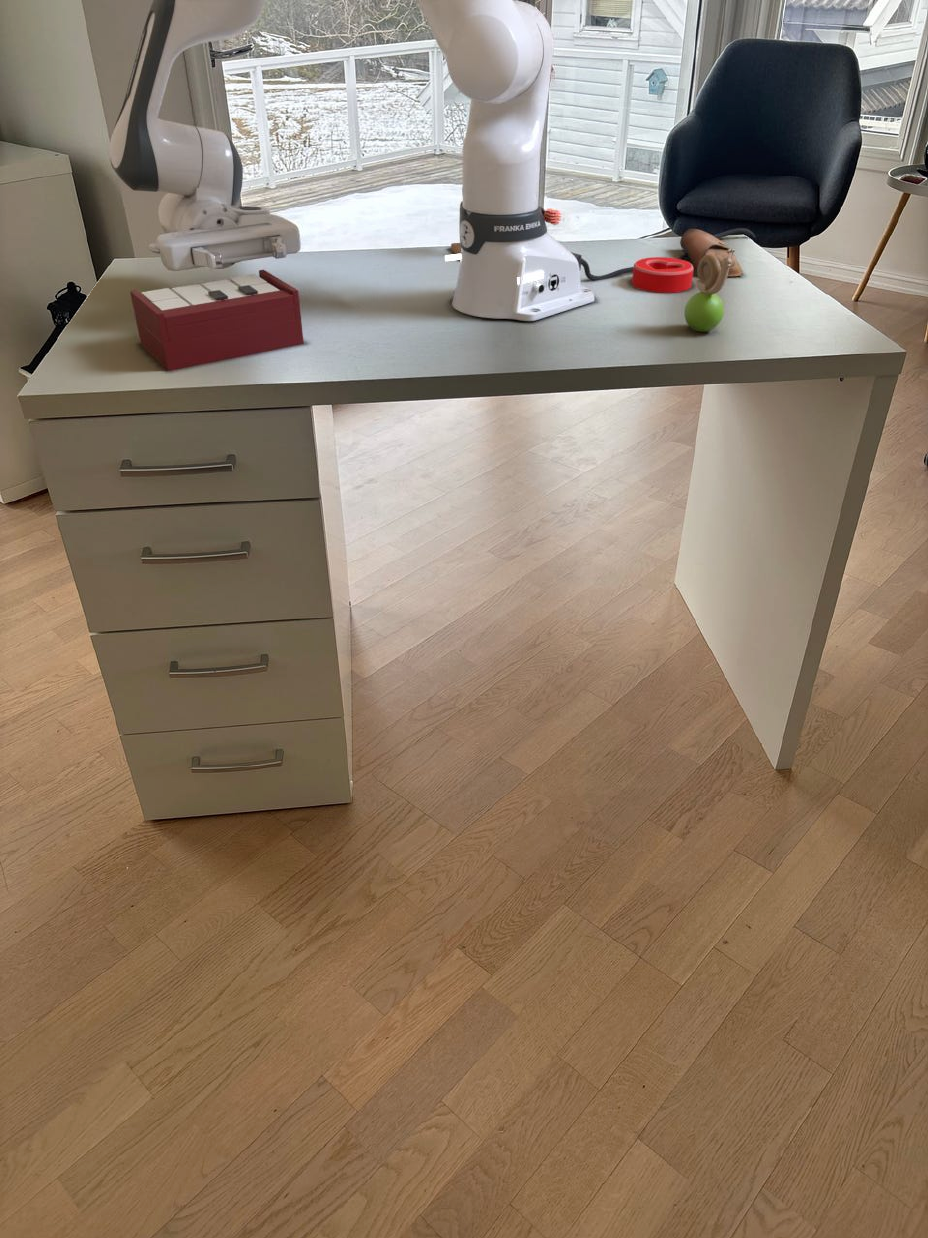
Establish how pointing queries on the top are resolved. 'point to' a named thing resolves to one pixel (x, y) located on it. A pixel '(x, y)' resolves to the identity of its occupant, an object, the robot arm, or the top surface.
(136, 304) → the toy piano
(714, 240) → the sunglasses case
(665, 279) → the decorative ornament
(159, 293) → the f key
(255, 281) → the c key
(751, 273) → the top surface
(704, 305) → the snail figurine
